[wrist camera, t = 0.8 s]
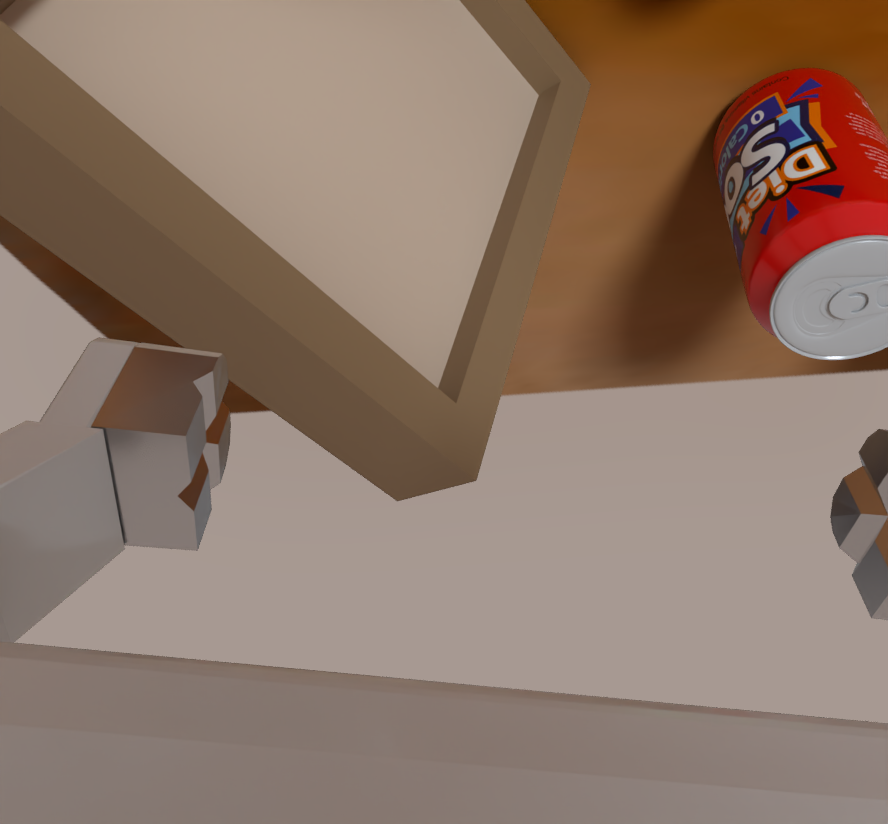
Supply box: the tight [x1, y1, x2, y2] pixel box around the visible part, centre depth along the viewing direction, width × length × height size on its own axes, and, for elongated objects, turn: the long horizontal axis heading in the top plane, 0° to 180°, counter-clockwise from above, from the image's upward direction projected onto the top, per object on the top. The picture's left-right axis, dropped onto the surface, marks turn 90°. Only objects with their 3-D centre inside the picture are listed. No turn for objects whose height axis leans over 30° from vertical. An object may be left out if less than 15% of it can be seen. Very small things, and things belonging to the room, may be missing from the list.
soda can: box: [713, 68, 888, 360], centre depth 40 cm, size 8×8×15 cm
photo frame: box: [0, 0, 591, 501], centre depth 34 cm, size 15×22×25 cm
